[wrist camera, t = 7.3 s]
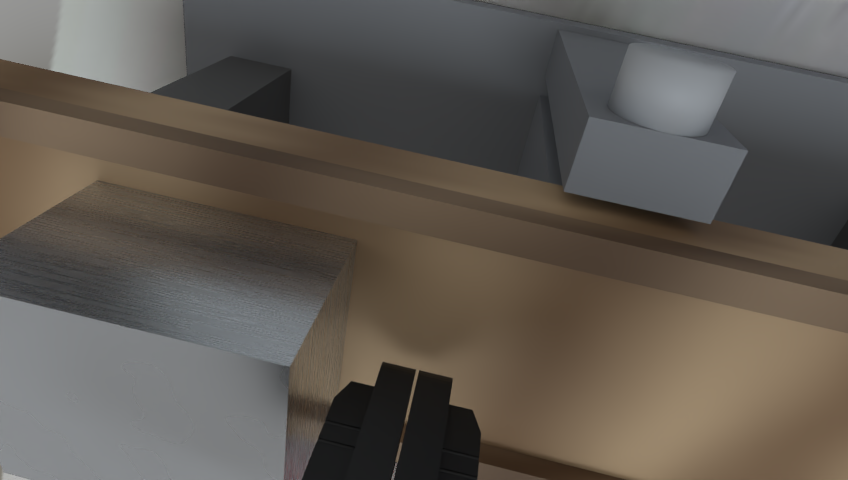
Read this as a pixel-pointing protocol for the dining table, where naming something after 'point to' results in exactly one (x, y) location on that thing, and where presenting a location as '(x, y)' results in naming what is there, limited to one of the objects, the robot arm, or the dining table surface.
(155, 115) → the beam
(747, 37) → the dining table surface
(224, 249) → the block
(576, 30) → the pivot stand
